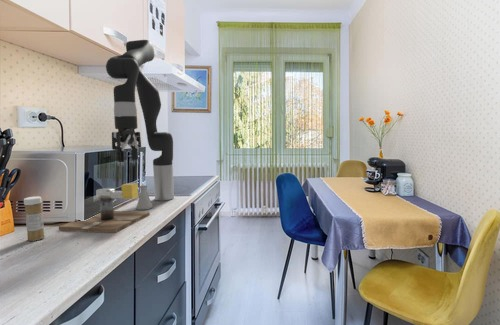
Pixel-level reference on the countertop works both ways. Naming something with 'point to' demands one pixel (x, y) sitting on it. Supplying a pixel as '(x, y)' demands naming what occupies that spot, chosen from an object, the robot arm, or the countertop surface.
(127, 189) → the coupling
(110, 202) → the glass spice jar
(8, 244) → the countertop surface
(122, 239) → the countertop surface
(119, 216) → the board
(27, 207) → the sprinkles bottle
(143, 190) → the flask
